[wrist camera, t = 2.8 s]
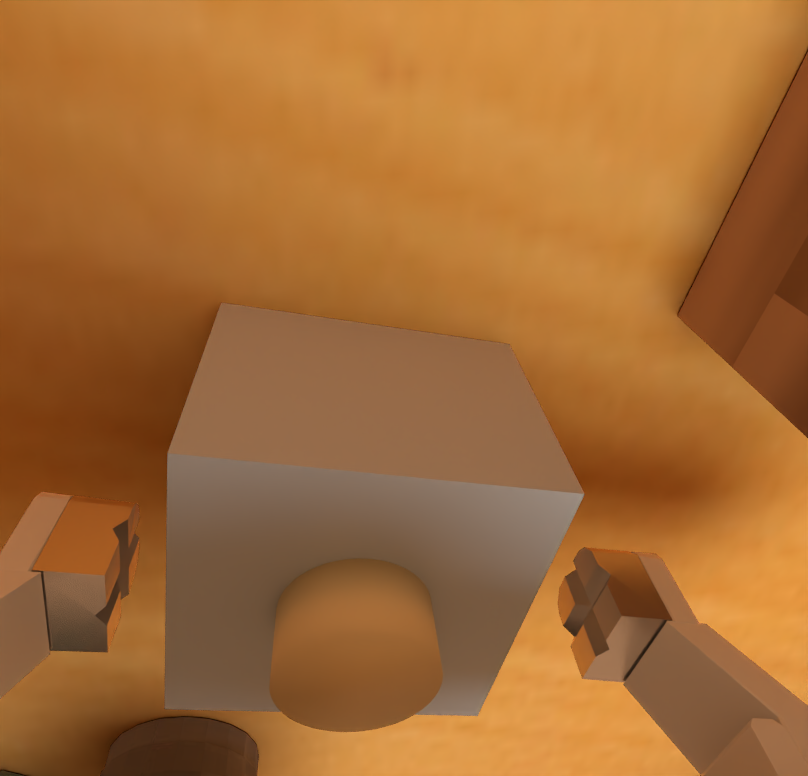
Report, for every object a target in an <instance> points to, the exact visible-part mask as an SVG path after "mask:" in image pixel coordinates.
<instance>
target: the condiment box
mask: <svg viewBox="0 0 808 776" xmlns="http://www.w3.org/2000/svg"><path fill="white" fill-rule="evenodd" d="M678 317H679V318H680V319H681V320H682V321H683V322H684V323H685V324H686V325H688V326H689V327H690V328H691V329H692V330H693V331H694V332H695V333H696V334H697V335H698V336H699V337H700V338H701V339H703V340H704V341H705V342H706V343H707V344H708V345H709V346H710V347H711V348H712V349H713V350H714V351H715V352H716V353H717V354H719V355H720V356H721V357H722V358H723V359H724V360H725V361H726V362H727V363H728V364H729V365H730V366H731V367H732V368H734V369H735V370H736V371H737V372H738V373H739V374H740V375H741V376H742V377H743V378H744V379H745V380H746V381H747V382H748V383H750V384H751V385H752V386H753V387H754V388H755V389H756V390H757V391H758V392H759V393H760V394H761V395H762V396H763V397H764V398H766V399H767V400H768V401H769V402H770V403H771V404H772V405H773V406H774V407H775V408H776V409H777V410H778V411H779V412H781V413H782V414H783V415H784V416H785V417H786V418H787V419H788V420H789V421H790V422H791V423H792V424H793V425H794V426H795V427H797V428H798V429H799V430H800V431H801V432H802V433H803V434H804V435H805V436H806V437H807V438H808V52H807V54H806V56H805V58H804V60H803V62H802V64H801V67H800V69H799V71H798V73H797V75H796V77H795V79H794V81H793V83H792V85H791V87H790V89H789V91H788V93H787V95H786V97H785V99H784V101H783V103H782V105H781V107H780V109H779V111H778V113H777V115H776V117H775V119H774V121H773V123H772V125H771V127H770V129H769V131H768V133H767V135H766V137H765V140H764V142H763V144H762V146H761V148H760V150H759V152H758V154H757V156H756V158H755V160H754V162H753V164H752V166H751V168H750V170H749V172H748V174H747V176H746V178H745V180H744V182H743V184H742V186H741V188H740V190H739V192H738V194H737V196H736V198H735V200H734V202H733V204H732V206H731V208H730V210H729V212H728V215H727V217H726V219H725V221H724V223H723V225H722V227H721V229H720V231H719V233H718V235H717V237H716V239H715V241H714V243H713V245H712V247H711V249H710V251H709V253H708V255H707V257H706V259H705V261H704V263H703V265H702V267H701V269H700V271H699V273H698V275H697V277H696V279H695V281H694V283H693V285H692V287H691V290H690V292H689V294H688V296H687V298H686V300H685V302H684V304H683V306H682V308H681V310H680V312H679V314H678Z"/></svg>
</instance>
